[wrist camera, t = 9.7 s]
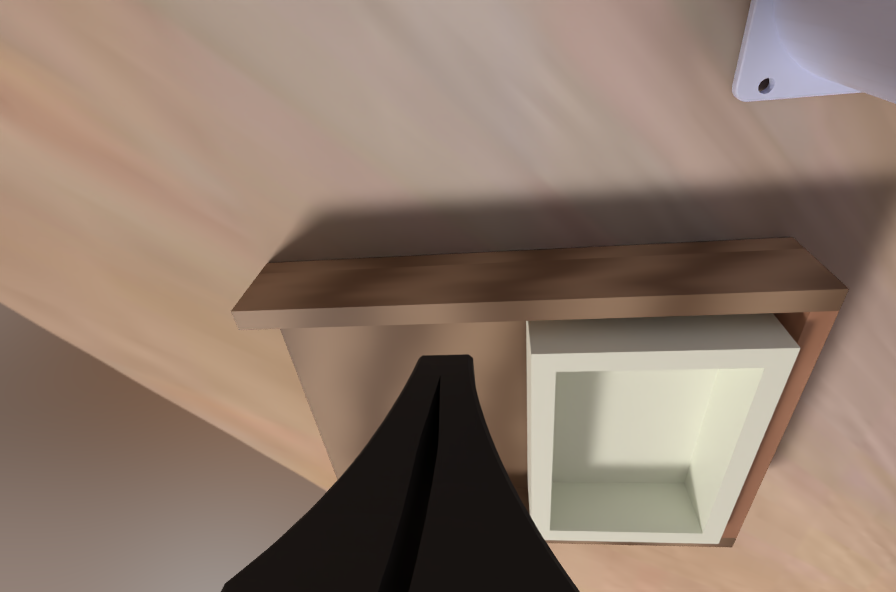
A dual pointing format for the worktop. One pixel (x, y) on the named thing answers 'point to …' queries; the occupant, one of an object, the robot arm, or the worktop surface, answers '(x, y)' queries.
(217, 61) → the worktop surface
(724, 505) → the crate
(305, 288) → the bay
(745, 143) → the worktop surface
